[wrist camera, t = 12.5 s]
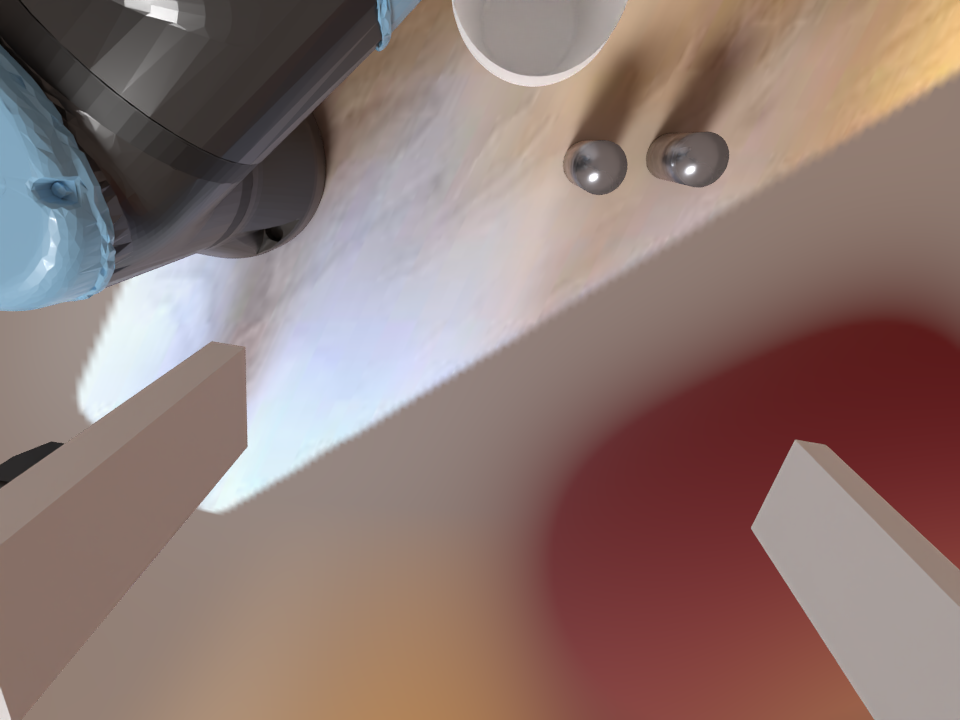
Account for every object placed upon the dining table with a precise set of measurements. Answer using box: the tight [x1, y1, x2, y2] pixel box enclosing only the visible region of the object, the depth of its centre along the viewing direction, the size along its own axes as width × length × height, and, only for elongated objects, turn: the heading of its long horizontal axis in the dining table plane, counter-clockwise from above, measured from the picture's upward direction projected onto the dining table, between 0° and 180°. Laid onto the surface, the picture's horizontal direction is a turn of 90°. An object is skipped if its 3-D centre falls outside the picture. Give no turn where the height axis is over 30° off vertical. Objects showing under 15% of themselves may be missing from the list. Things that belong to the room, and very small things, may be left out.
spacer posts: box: [563, 132, 729, 195], centre depth 31 cm, size 19×21×7 cm
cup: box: [452, 0, 628, 86], centre depth 29 cm, size 9×9×12 cm
